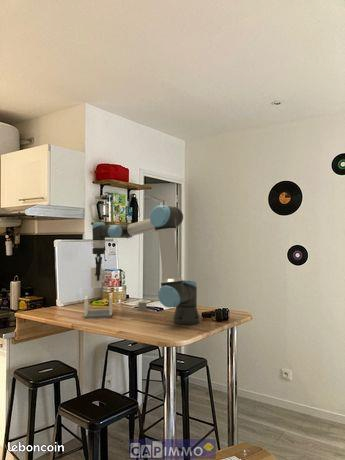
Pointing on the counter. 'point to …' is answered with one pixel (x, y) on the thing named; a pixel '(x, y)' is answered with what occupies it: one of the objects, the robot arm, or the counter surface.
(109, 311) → the grey u-shaped piece
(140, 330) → the counter surface
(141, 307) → the junction box
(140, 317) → the counter surface
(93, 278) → the mug
